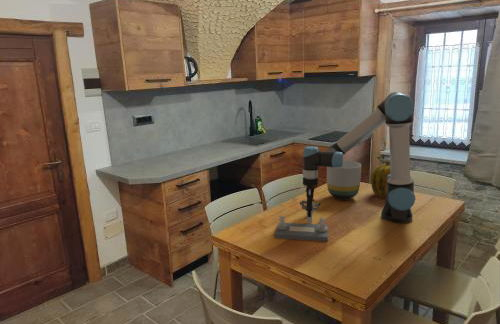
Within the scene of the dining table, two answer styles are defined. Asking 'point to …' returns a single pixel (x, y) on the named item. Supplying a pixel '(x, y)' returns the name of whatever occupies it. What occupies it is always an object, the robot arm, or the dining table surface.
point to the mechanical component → (312, 205)
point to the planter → (344, 180)
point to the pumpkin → (380, 178)
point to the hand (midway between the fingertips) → (309, 217)
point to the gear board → (302, 230)
